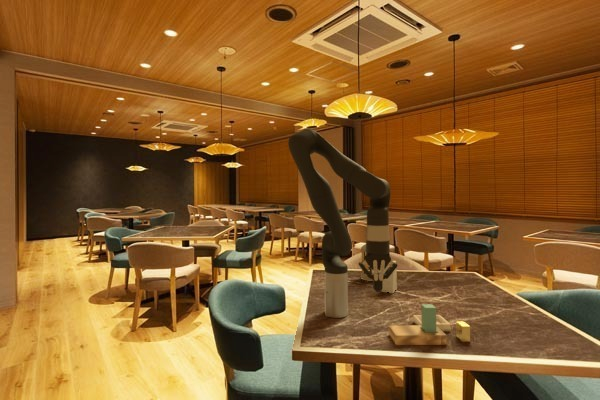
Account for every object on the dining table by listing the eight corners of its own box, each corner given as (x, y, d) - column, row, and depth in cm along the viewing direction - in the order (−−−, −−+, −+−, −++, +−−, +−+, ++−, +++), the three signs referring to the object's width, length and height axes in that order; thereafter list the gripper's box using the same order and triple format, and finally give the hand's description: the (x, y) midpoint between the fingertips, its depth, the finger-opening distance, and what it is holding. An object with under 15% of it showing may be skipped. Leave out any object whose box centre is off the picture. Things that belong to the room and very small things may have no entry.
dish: (422, 331, 112) (422, 324, 112) (413, 321, 121) (413, 315, 121) (450, 331, 112) (450, 324, 112) (439, 321, 121) (439, 314, 121)
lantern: (356, 277, 190) (355, 234, 190) (377, 275, 195) (376, 233, 194) (368, 283, 177) (367, 237, 177) (390, 280, 181) (390, 236, 181)
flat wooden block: (396, 344, 102) (396, 335, 102) (389, 334, 110) (389, 325, 110) (446, 344, 102) (446, 335, 102) (435, 333, 110) (435, 325, 110)
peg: (425, 341, 104) (425, 307, 104) (421, 336, 108) (421, 304, 108) (436, 341, 104) (436, 307, 104) (432, 336, 108) (431, 304, 108)
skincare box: (393, 293, 157) (393, 263, 156) (381, 292, 160) (380, 262, 159) (397, 289, 164) (397, 260, 164) (385, 287, 167) (385, 259, 167)
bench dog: (462, 341, 104) (462, 326, 104) (456, 336, 108) (456, 321, 108) (470, 341, 104) (469, 326, 104) (463, 336, 108) (463, 321, 108)
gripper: (359, 240, 102) (359, 294, 102) (401, 240, 102) (401, 294, 102) (355, 237, 110) (356, 287, 110) (395, 237, 109) (395, 288, 109)
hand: (377, 291), depth 106 cm, fingers closed
